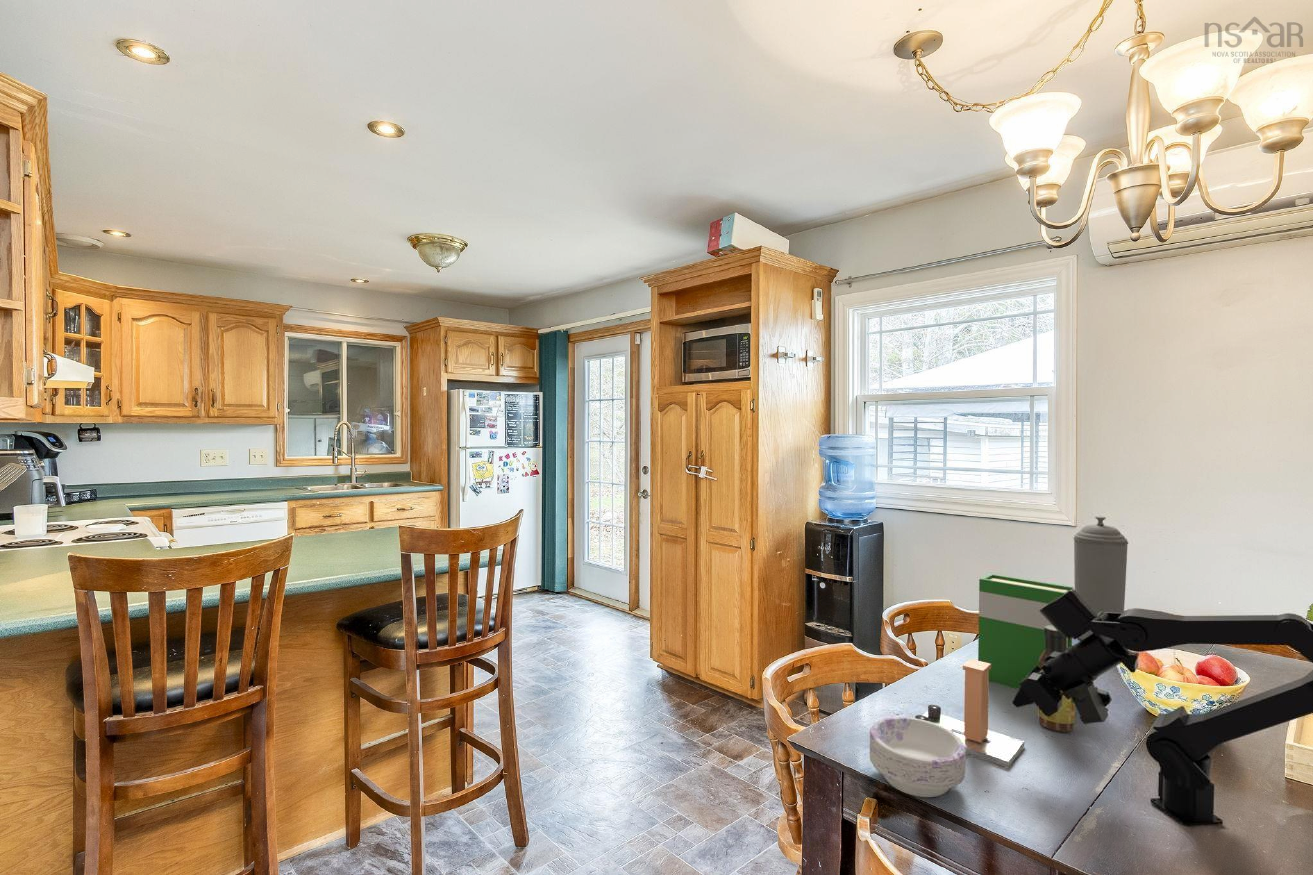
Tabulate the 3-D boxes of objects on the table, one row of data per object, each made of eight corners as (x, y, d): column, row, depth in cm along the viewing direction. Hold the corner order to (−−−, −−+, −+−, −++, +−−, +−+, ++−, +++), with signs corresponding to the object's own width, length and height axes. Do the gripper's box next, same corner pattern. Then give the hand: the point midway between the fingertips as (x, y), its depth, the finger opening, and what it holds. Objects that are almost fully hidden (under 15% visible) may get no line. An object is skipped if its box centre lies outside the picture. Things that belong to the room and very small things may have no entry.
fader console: (1024, 747, 121) (1024, 730, 121) (1008, 767, 114) (1008, 750, 114) (927, 716, 134) (927, 701, 133) (907, 733, 126) (908, 717, 126)
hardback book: (1071, 691, 146) (1073, 586, 146) (1062, 701, 141) (1064, 593, 141) (988, 669, 159) (990, 573, 158) (977, 677, 154) (979, 578, 153)
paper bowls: (959, 820, 99) (960, 769, 99) (859, 790, 107) (860, 743, 107) (969, 774, 112) (970, 729, 112) (879, 750, 120) (880, 708, 120)
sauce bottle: (1079, 735, 126) (1081, 634, 125) (1044, 732, 127) (1046, 632, 127) (1065, 720, 132) (1067, 624, 132) (1032, 717, 133) (1034, 622, 133)
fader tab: (990, 735, 123) (991, 663, 122) (982, 743, 119) (983, 670, 119) (970, 728, 125) (971, 658, 125) (961, 737, 122) (962, 665, 122)
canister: (1135, 649, 173) (1138, 520, 172) (1082, 646, 176) (1084, 519, 175) (1113, 634, 185) (1116, 514, 184) (1064, 631, 188) (1066, 512, 187)
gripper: (1116, 722, 99) (1035, 766, 107) (1135, 686, 113) (1062, 728, 120) (1058, 659, 104) (985, 705, 112) (1083, 631, 118) (1016, 675, 126)
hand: (1014, 704), depth 118 cm, fingers closed
